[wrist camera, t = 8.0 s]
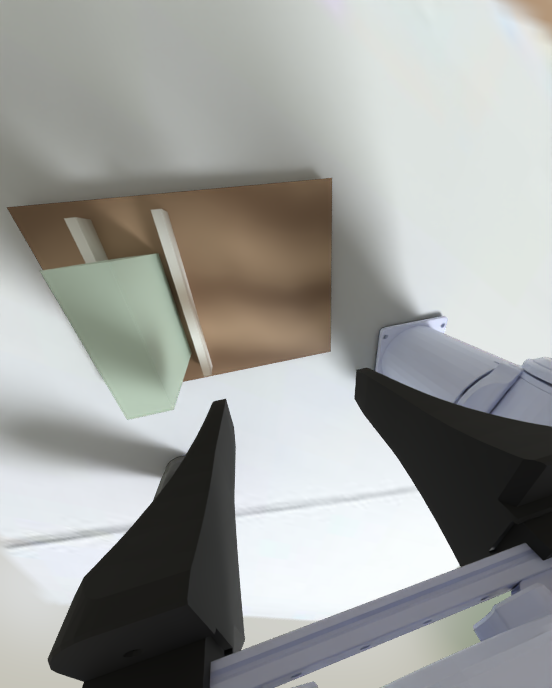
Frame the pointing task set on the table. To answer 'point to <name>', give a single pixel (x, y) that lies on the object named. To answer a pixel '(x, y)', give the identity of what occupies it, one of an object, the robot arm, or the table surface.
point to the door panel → (127, 328)
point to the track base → (213, 262)
